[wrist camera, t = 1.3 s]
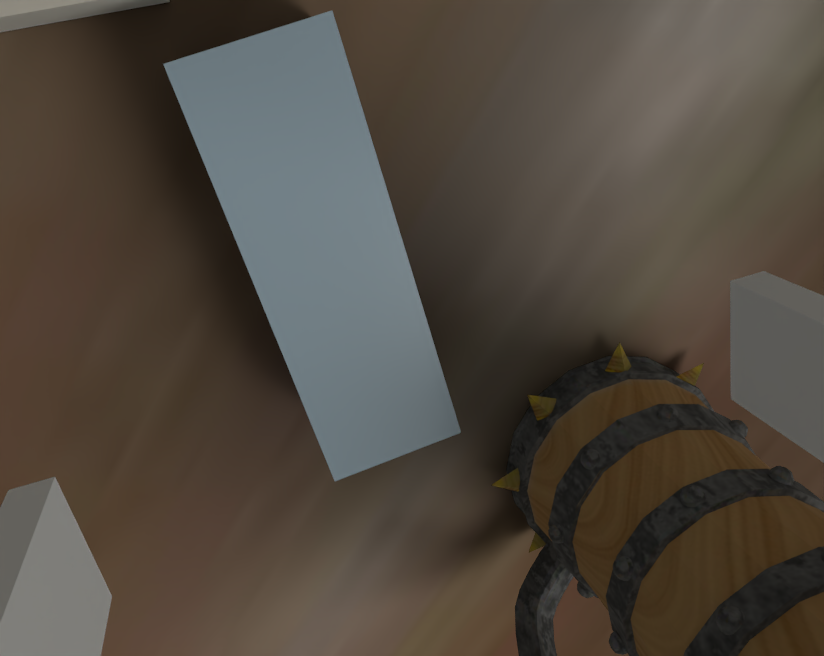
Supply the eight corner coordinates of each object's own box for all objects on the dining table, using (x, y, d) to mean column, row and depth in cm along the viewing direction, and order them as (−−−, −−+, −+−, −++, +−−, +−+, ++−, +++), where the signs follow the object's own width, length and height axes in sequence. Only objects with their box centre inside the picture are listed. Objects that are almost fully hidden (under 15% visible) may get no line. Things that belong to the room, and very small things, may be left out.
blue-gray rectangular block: (316, 406, 32) (334, 481, 26) (177, 59, 25) (163, 63, 20) (422, 366, 32) (461, 432, 27) (310, 17, 26) (332, 10, 20)
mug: (763, 418, 38) (1255, 764, 20) (547, 645, 40) (808, 1139, 22) (611, 278, 32) (1090, 574, 14) (373, 549, 35) (527, 1093, 17)
